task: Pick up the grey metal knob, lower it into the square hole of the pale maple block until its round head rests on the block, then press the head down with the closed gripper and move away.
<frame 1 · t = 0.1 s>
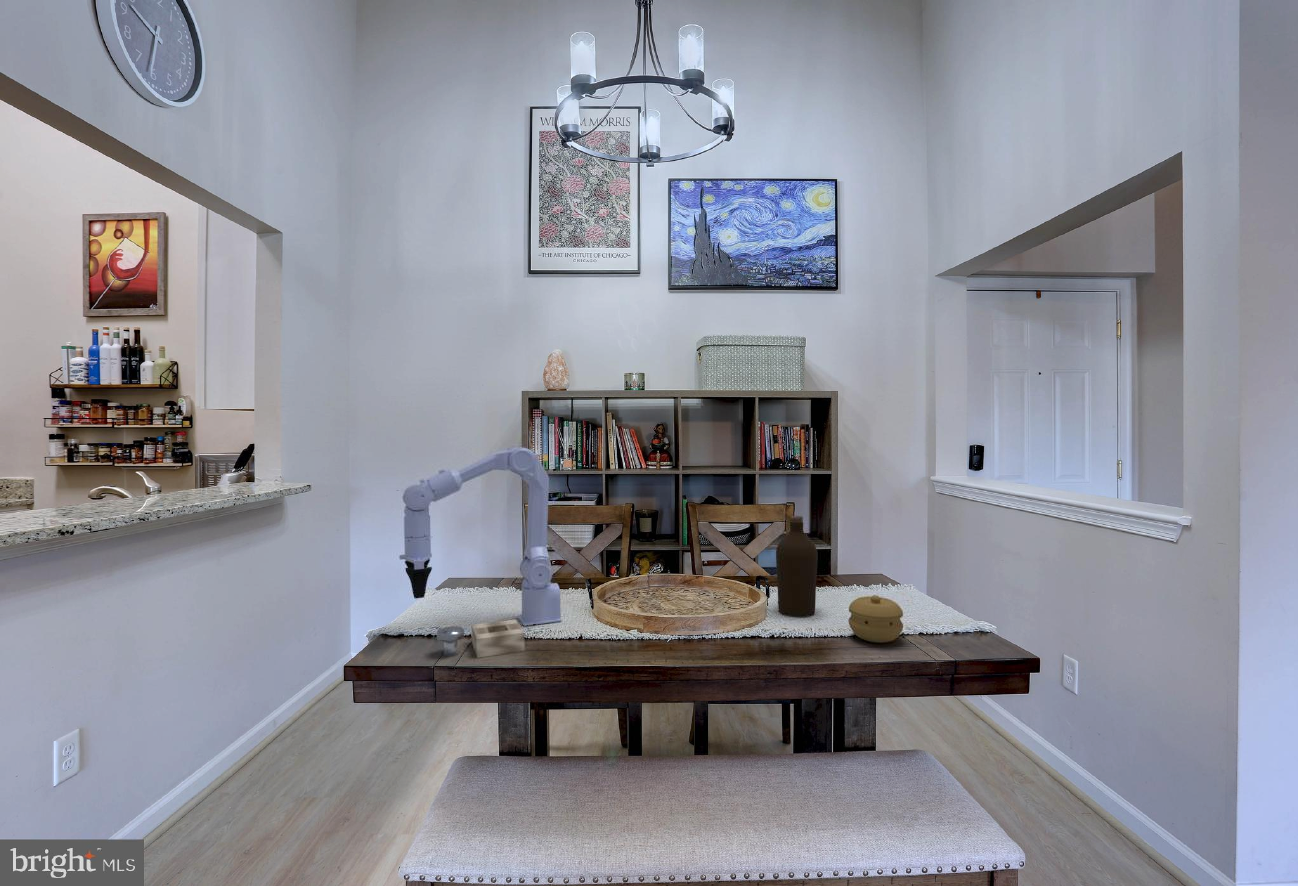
hand: (418, 593, 144), 10 cm above the table, tool pointing down, fingers open, 7 cm apart
lidded pot: (875, 640, 141), on the table
maple block: (497, 646, 137), on the table
grey metal knob: (450, 653, 134), on the table
olive oil: (796, 612, 161), on the table
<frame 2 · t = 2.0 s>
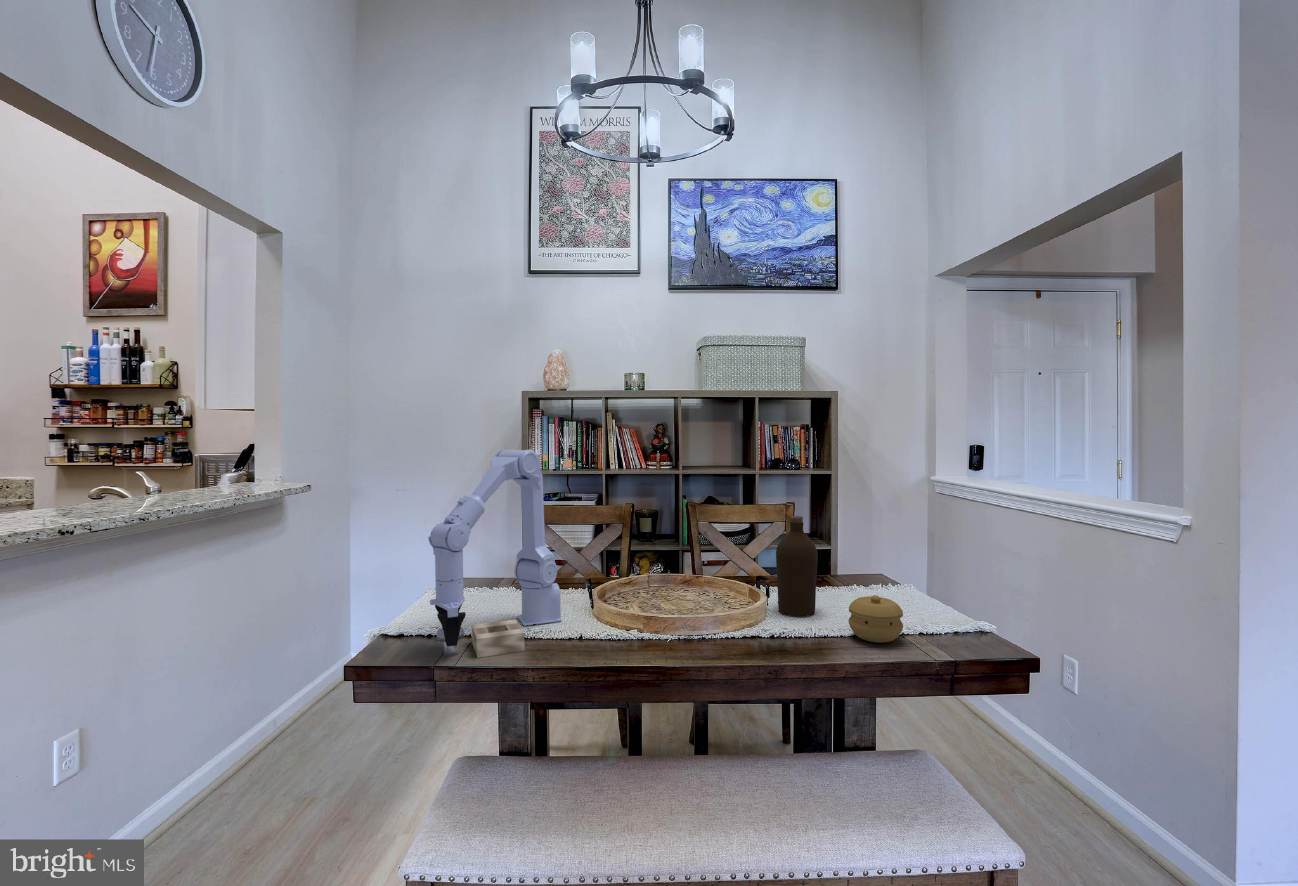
hand: (450, 640, 133), 3 cm above the table, tool pointing down, fingers closed on grey metal knob, 6 cm apart
grey metal knob: (450, 653, 134), on the table, touching gripper
everything else where it was.
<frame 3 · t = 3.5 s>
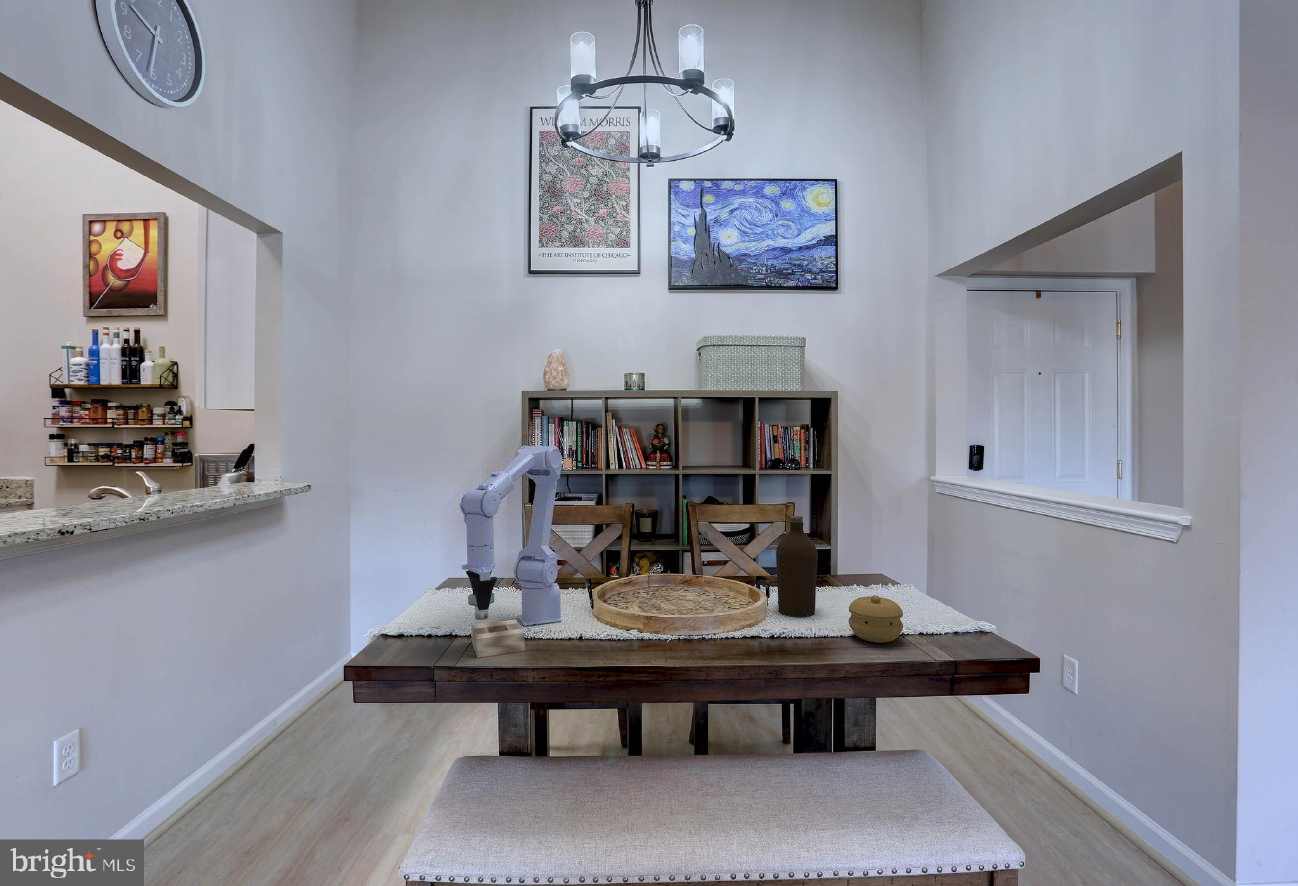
hand: (481, 605, 136), 10 cm above the table, tool pointing down, fingers closed on grey metal knob, 6 cm apart
grey metal knob: (481, 617, 136), point 7 cm above the table, touching gripper
everything else where it was.
when the fingers open (5 cm above the table, at t = 5.2 s): grey metal knob drops 2 cm, resting on maple block.
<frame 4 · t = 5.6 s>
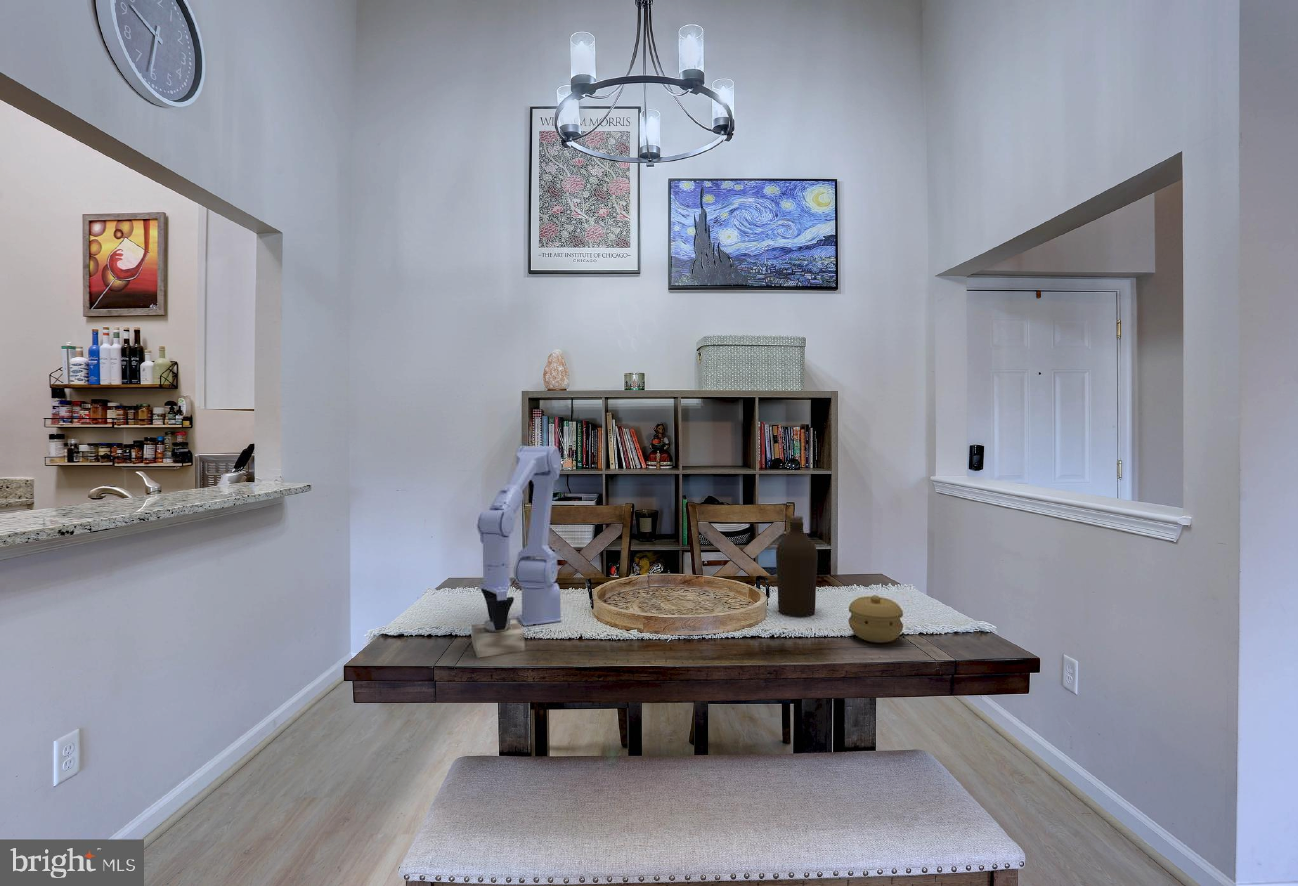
hand: (497, 624, 137), 5 cm above the table, tool pointing down, fingers open, 7 cm apart
grey metal knob: (497, 644, 137), resting on maple block
everything else where it was.
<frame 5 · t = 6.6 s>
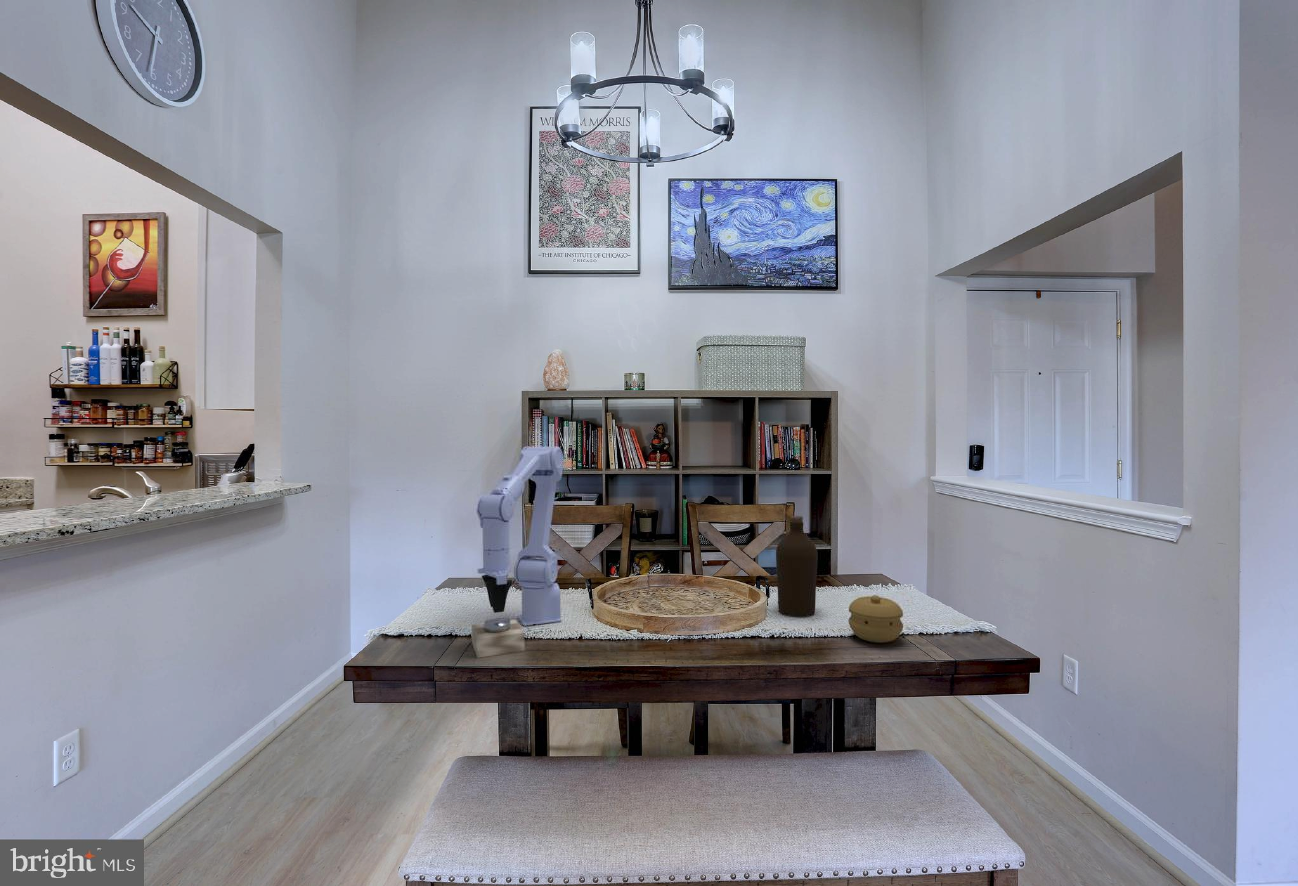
hand: (497, 609, 137), 8 cm above the table, tool pointing down, fingers open, 4 cm apart
nothing on the table moved.
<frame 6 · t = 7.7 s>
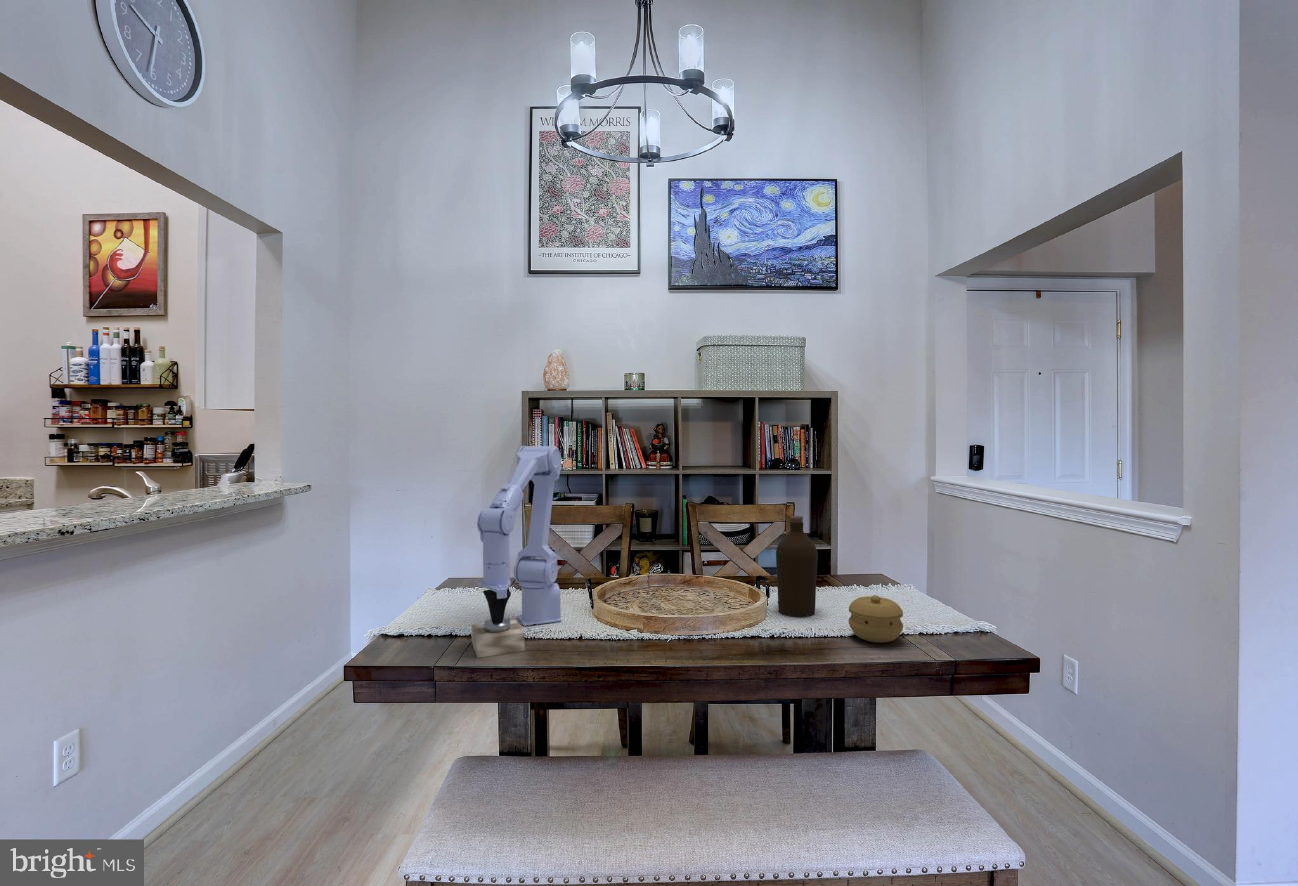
hand: (497, 622, 137), 5 cm above the table, tool pointing down, fingers closed, pressing on grey metal knob
grey metal knob: (497, 644, 137), resting on maple block, touching gripper
everything else where it was.
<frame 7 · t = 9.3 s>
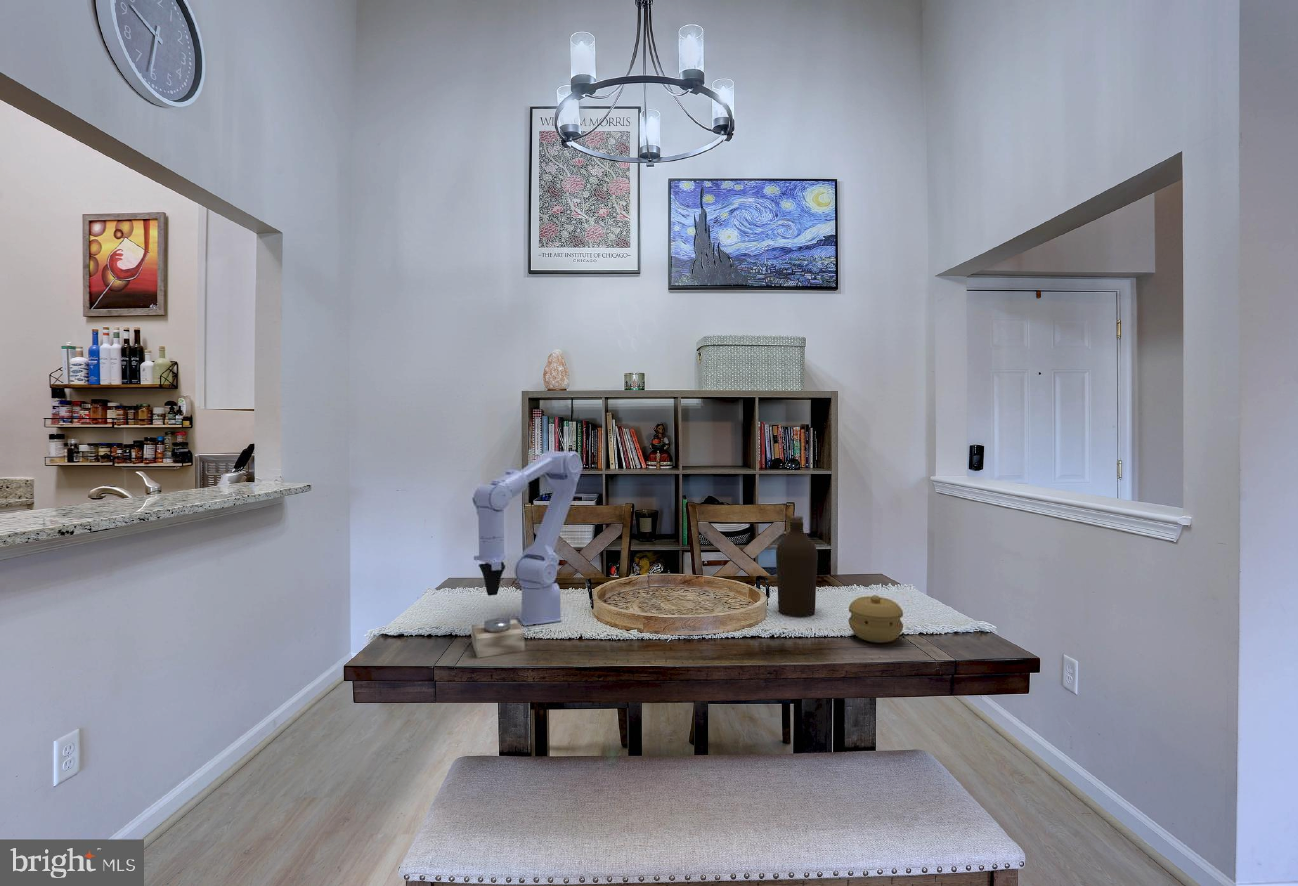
hand: (492, 594, 144), 10 cm above the table, tool pointing down, fingers closed
grey metal knob: (497, 644, 137), resting on maple block
everything else where it was.
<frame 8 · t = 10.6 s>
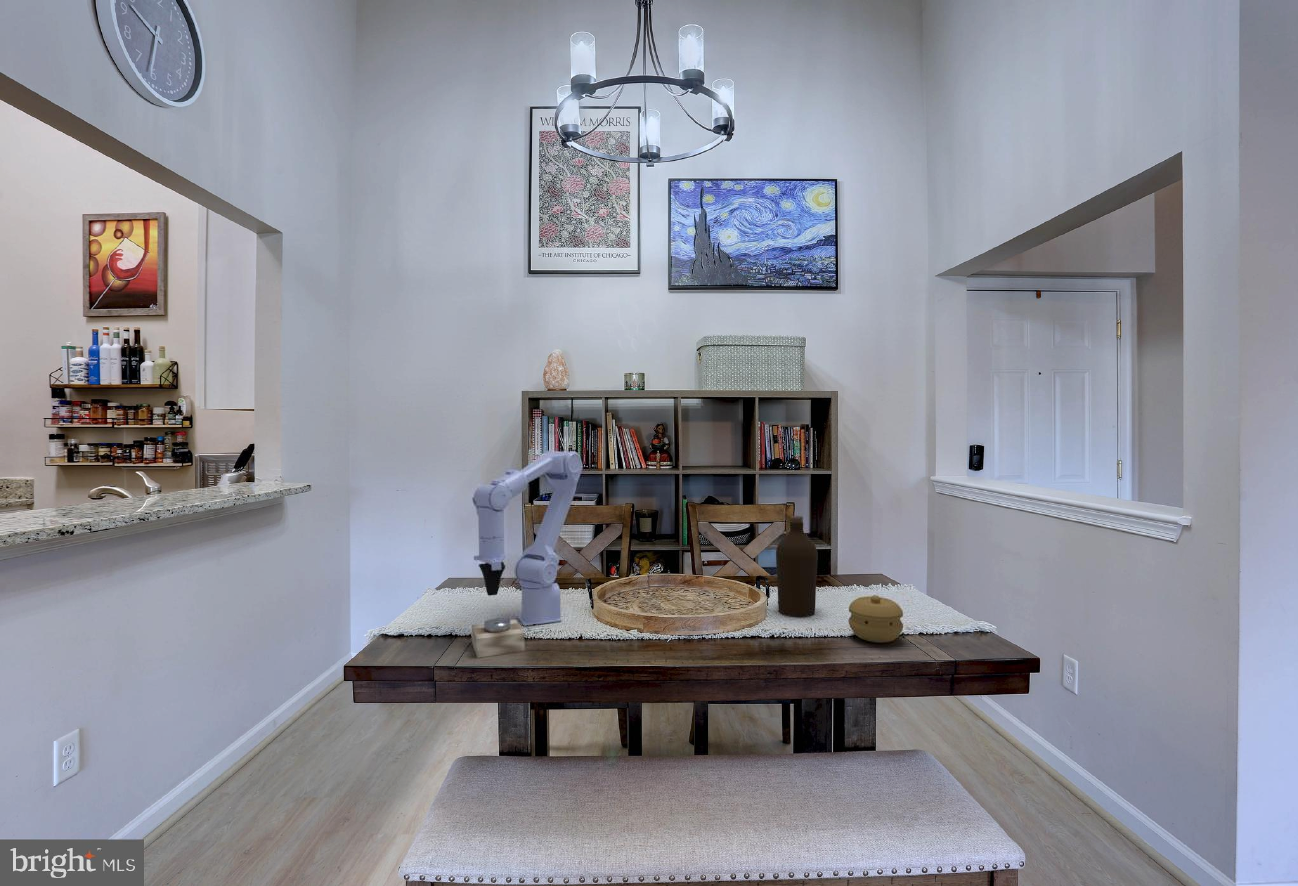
hand: (492, 594, 144), 10 cm above the table, tool pointing down, fingers closed
nothing on the table moved.
at the end: grey metal knob 0.0 cm off-centre on the maple block, point 0.5 cm above the maple block's base; grey metal knob tilted 0°; the gripper is holding nothing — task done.
